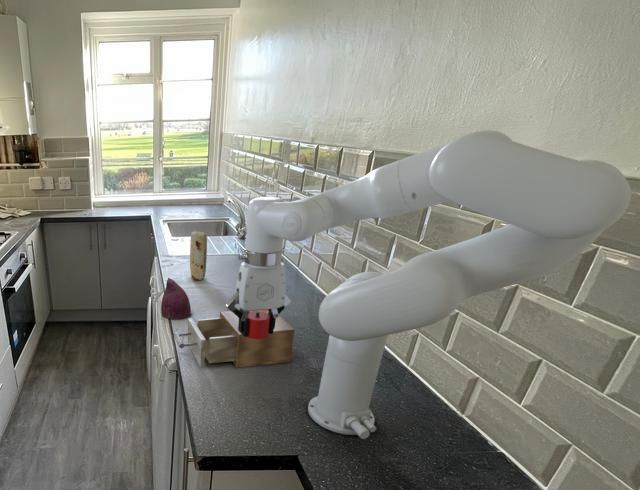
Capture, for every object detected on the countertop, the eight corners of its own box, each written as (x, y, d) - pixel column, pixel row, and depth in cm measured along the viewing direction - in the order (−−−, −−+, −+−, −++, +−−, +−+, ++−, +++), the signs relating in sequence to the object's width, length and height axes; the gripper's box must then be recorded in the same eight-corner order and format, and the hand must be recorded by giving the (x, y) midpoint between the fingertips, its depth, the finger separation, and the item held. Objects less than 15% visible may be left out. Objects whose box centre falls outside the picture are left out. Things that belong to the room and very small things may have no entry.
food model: (186, 275, 174) (187, 229, 166) (201, 274, 175) (203, 228, 166) (192, 282, 165) (193, 234, 157) (208, 281, 166) (210, 233, 157)
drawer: (181, 368, 103) (182, 342, 100) (170, 344, 116) (170, 320, 112) (250, 361, 105) (253, 335, 102) (232, 338, 117) (234, 314, 114)
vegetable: (168, 329, 134) (159, 292, 125) (158, 314, 142) (148, 278, 134) (197, 318, 135) (190, 281, 126) (185, 303, 143) (177, 267, 135)
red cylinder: (272, 338, 91) (274, 315, 89) (249, 340, 91) (251, 318, 88) (262, 328, 96) (264, 306, 94) (240, 330, 96) (241, 308, 93)
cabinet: (236, 367, 105) (239, 334, 101) (218, 341, 118) (220, 311, 114) (290, 362, 106) (294, 329, 102) (266, 337, 119) (269, 307, 115)
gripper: (230, 265, 82) (225, 344, 89) (309, 258, 83) (299, 336, 91) (218, 256, 89) (215, 329, 96) (292, 250, 90) (283, 322, 97)
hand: (256, 332), depth 93 cm, fingers closed on red cylinder, 5 cm apart
